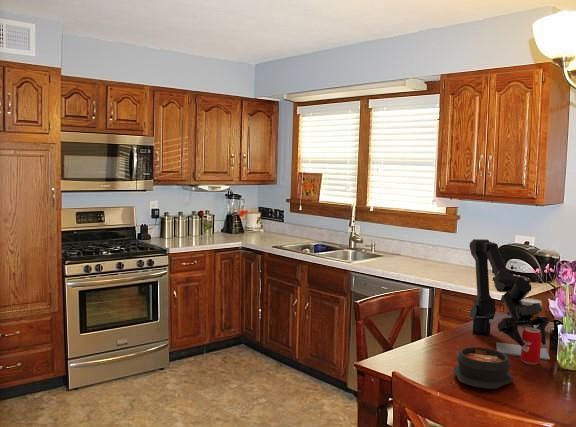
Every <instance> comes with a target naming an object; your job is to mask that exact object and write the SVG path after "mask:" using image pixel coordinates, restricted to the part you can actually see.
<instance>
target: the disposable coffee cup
mask: <svg viewBox="0 0 576 427" xmlns="http://www.w3.org/2000/svg"><path fill="white" fill-rule="evenodd" d="M521 301H522V303H523V305H527V306H528V305H532V304H535V303H539V304H540V306H541V308H542V306H543V302H542V300H540V299H537V298H530V297H525V298H524V299H523V300H521ZM533 316H534V317H533V318H530V320H534V319H535V318H536V317H537V316H541V312H539V314H535V315H533ZM521 327H522V328H523V329H524V328H527V327H531V326H521ZM531 328H532V327H531Z"/></svg>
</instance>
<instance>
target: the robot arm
mask: <svg viewBox="0 0 576 427" xmlns="http://www.w3.org/2000/svg"><path fill="white" fill-rule="evenodd" d="M468 245H469V246H468V247H469V250H470V255H471V256H472V258H473V259H474V260H475V262H474V263H475V276H476V277H475V279H476V296H475V298H474V300H473V306H472V307H471V309H470V310H469V311H468V314H469V317H470V318H471V319H472V320H473V321H472V330H471V331H472V334H474V335H483V336H490V334H491V321H490V320H492V321H493V320H494V318H495V316H496V312H497V311H496V310H497V308H496V299H495V298H493V297H492V296H491V295H490V278H489V276H490V275H489V264H490V266H491V269H492V272H493V273H494V279H493V284H494V287H495V290H496V291H497V292H499V293H504V294H502V295H501V298H500V302H501V303H504V305H505V307H506V309H507V312H506V314H507V316H510V317H503V318H502V319H501V320H500V321H499V322H498V323H497V329H498V331H499V332H501V333H503V334H504V335H506V336H508V337H509V338H511V339H512V340H513V341H514V342H515V343H517V345H520V346H524V344H523V341H522V335H520V332H519V329H518V328H519V327H522V326H531V327H532V328H536V329H539V330H540V333H541V345H544V346H545V345H546V344H547V341H546V340H547V339H546V333H545V332H546V331H545V330H546V327H547V326H548V325H549V324H550V323H551V320H550V319H549V317H548V316H546V315H540V316H537V317H536V318H535V319H534V320H530V318H533V317H534V316H533V315H535V314H539V312H540V313H541V312H543V309H542V307H541V306H540V304H539V303H535V304H532V305H528V306H527V305H523V303H522V301H521V300H523V299H524V298H527V295H528V294H529V293H531V291H532V285H531V283H530V282H528V280H526V279H524V278H523V277H522V276H517V277H515V276H514V274H513V273H512V272H510V271H509V270H508V269H507V267H506V264H505V262H504V259H503V258H502V255H501V253H500V251H499V245H498V244H497V243H496V242H494V241H493V242H492V241H490V240H489V239H479V238H478V239H476V238H475V239H472V240H471V241H470V242H469V244H468ZM488 262H489V264H488Z"/></svg>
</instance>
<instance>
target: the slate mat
mask: <svg viewBox="0 0 576 427" xmlns="http://www.w3.org/2000/svg"><path fill="white" fill-rule="evenodd" d="M495 345H496V351H499V352H501V353H504V354H505V355H506V356H514V357H520V358H521V347H522V346H520V345H519V344H511V343H504V342H496V344H495ZM540 360H542V361H543V360H544V361H551V357H550V354H549V352H548V349H547V348H544V347H541V350H540Z"/></svg>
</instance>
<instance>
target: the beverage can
mask: <svg viewBox="0 0 576 427" xmlns="http://www.w3.org/2000/svg"><path fill="white" fill-rule="evenodd" d="M521 339H522V341H523V344H524V346H522V347H521V357H520V360H521V361H522V362H523V363H524V364H527V365H537V364H540V361H541V359H540V350H541V348H542V343H541V333H540V330H539V329H536V328H531V327H527V328H523V330H522V335H521Z"/></svg>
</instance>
